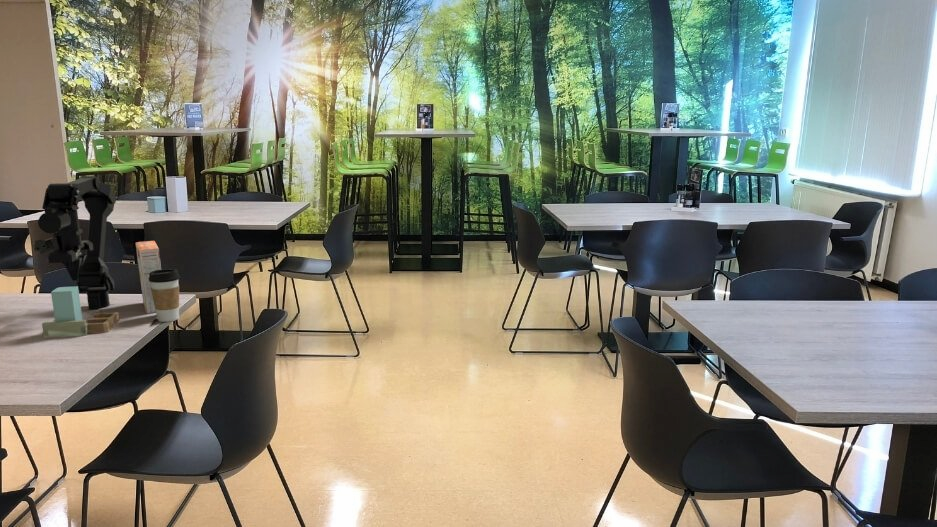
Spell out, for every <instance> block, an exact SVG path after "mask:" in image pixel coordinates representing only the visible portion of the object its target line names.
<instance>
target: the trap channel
mask: <svg viewBox="0 0 937 527" xmlns="http://www.w3.org/2000/svg"><path fill="white" fill-rule="evenodd" d="M119 322H120V317H119V311H118V312H104V313H102V311H96V312H95V313H94V314H93V317H89V318H88V320H86V319H82V320H77V321H60V322H55V319H54V320H52V321H47V322H46V321H45V322H43V323H42V324H41V327H42V334H43V339H50V338H51V339H53V338H64V337H65V338H66V337H80V336H81V337H82V336H88V334H97V333H98V334H99V333H109V332H110V331H111V330H112V329H113V328H114V327H115V326H116V325H117V324H118V323H119Z"/></svg>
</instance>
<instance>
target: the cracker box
mask: <svg viewBox="0 0 937 527" xmlns="http://www.w3.org/2000/svg"><path fill="white" fill-rule="evenodd" d="M135 250H136V257H137V266H138V273H139V280H140V289H141V296H142V303H143V304H142V305H143V308H144V311H145V313H146V314H151V313H153V314H154V313H156V309H155V305H154V300H153V296H152V291H151V283H150V282H149V273H150V272H152V271H155V270H162V266H161V257H160V256H161V255H160V248H159V247H158V245H157V243H156V241H155V240H148V241H147V240H146V241H145V240H144V241H138V242H135Z"/></svg>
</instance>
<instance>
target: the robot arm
mask: <svg viewBox="0 0 937 527" xmlns="http://www.w3.org/2000/svg"><path fill="white" fill-rule="evenodd" d="M80 200H82V201H83V202H84V207H85V209H86V211H87V212H88V214H89V219H88V220H89V221H88V230H87V232H88V234H87V240H82V239H81V238H82V237H81V234H82V233H84V232H83V229H81V228H80V220H79V212H78V210H79V209H80V207H79V206H78V205H79V203H80V202H79V201H80ZM116 200H117V197H116V194H115V192H114V191H113V189H112V187H111V186H110V185H107V184H106V183H104V182H102V181H101V179H100V178H99V177H97V176H81V177H79V178H78V179H75V180H73V181H70V182H69V181H68V182H66V183H63V182H62V183H59V182H58V183H56V182H55V183H49V184H48V185H47V187H46V189H45V192H44V198H43V203H42V210H43V211H44V213H42V214H41V215H40V216H39V218H38V221H37V224H38V227H39V229H41V231H42V232H44V233H46V234H52V237H51V238H48V239H44V238H39V239H37V240H35V241H34V244H33V246H34V247H33V250H34V251H35V252H38V254H39V256H40V255H44V254H45V253H47V252H49V251H51V252H49V253H48V254H47V255H46V262H47V263H48V264H56V263H57V264H58V263H61V264H63V265H64V266H65V269H66V271H67V272H68V275H69V277H70V280H71V281H75V282H76V284H77V286H78V290H79V293H86V296H87V298H86V299H87V306H88V310H89V311H90V310H92V311H95V310H96V311H97V310H100V309H104V308H108V307H110V306H113V305H115V304H111V302H110V294H109V292H110V291H113V290H115V281H114V279H113V278H112V276H111V275H110V273H109V268H108V265H106V263H105V261H104V256H105V246H106V245H105V244H106V232H107V223H108V222H107V220H108V217H109V216H110V215H111V214H112V213H113V212H114V207H115V204H116V202H117V201H116ZM52 250H53V251H52ZM83 250H84V251H85V250H86V252H85V253H82V251H83Z"/></svg>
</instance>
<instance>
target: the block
mask: <svg viewBox="0 0 937 527" xmlns="http://www.w3.org/2000/svg"><path fill="white" fill-rule="evenodd" d="M50 295H51V304H52V307H53V308H52V310H53V315H54V316H53V317H54V320H55V322H60V321H77V320H83V314H82V313H83V312H82V307H81V299H80V291H79V288H78V285H77V286H60V287H56V288H55V289H54V290H52V291H51V292H50Z"/></svg>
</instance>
